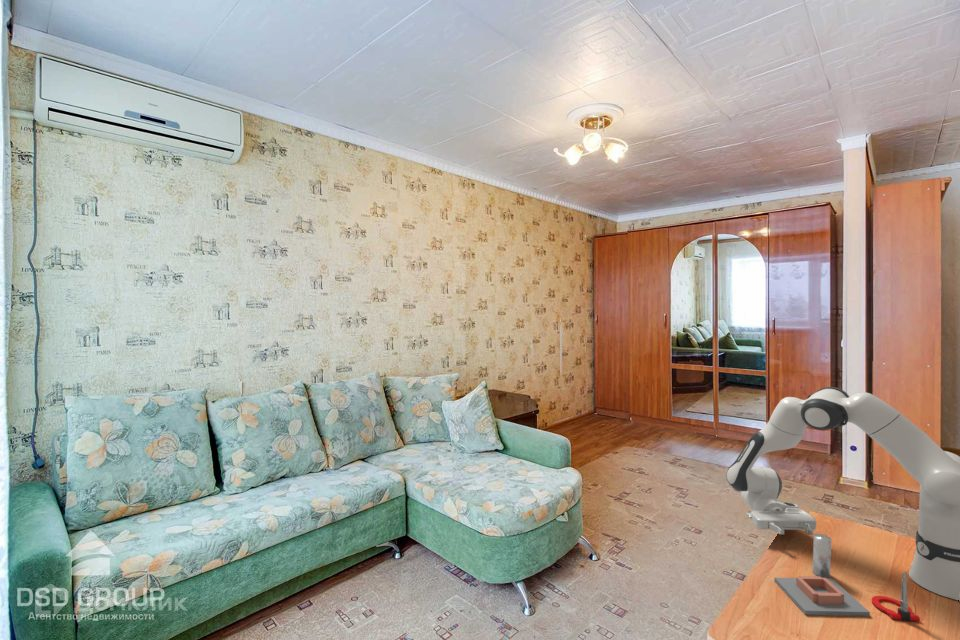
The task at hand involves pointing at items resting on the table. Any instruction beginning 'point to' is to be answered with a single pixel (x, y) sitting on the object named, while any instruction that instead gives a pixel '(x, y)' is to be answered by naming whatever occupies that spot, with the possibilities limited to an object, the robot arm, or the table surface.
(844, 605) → the keeper
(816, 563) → the brushed steel cylinder
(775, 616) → the table surface
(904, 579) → the tow hook
